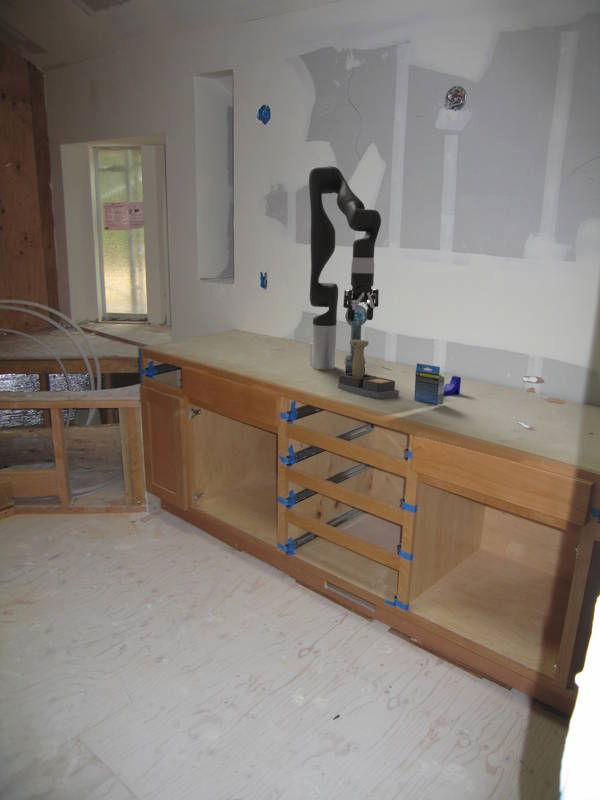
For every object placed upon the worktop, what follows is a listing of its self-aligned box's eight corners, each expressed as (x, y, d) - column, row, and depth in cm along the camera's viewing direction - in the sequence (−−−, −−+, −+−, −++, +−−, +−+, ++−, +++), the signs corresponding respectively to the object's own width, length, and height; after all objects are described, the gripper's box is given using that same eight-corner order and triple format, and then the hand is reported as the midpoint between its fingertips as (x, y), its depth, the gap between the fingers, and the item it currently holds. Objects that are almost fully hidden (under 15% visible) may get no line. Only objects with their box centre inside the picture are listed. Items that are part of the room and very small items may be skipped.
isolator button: (365, 386, 214) (366, 380, 213) (378, 384, 217) (378, 378, 217) (378, 389, 209) (379, 383, 209) (391, 387, 213) (391, 381, 212)
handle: (361, 386, 217) (363, 342, 214) (345, 383, 221) (347, 340, 218) (369, 384, 221) (371, 341, 217) (353, 381, 225) (355, 339, 221)
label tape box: (443, 403, 205) (446, 365, 202) (437, 405, 202) (440, 366, 199) (419, 398, 210) (422, 361, 207) (413, 400, 207) (415, 363, 204)
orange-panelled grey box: (337, 388, 222) (338, 374, 221) (356, 385, 228) (357, 372, 227) (379, 399, 207) (380, 384, 206) (398, 396, 213) (399, 381, 212)
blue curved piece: (451, 391, 222) (452, 375, 221) (459, 394, 218) (461, 377, 217) (422, 394, 217) (423, 376, 216) (430, 397, 213) (431, 379, 212)
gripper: (355, 272, 205) (353, 322, 209) (385, 272, 214) (383, 320, 218) (339, 271, 211) (337, 320, 214) (369, 271, 219) (367, 318, 223)
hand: (360, 320), depth 216 cm, fingers open, 8 cm apart
